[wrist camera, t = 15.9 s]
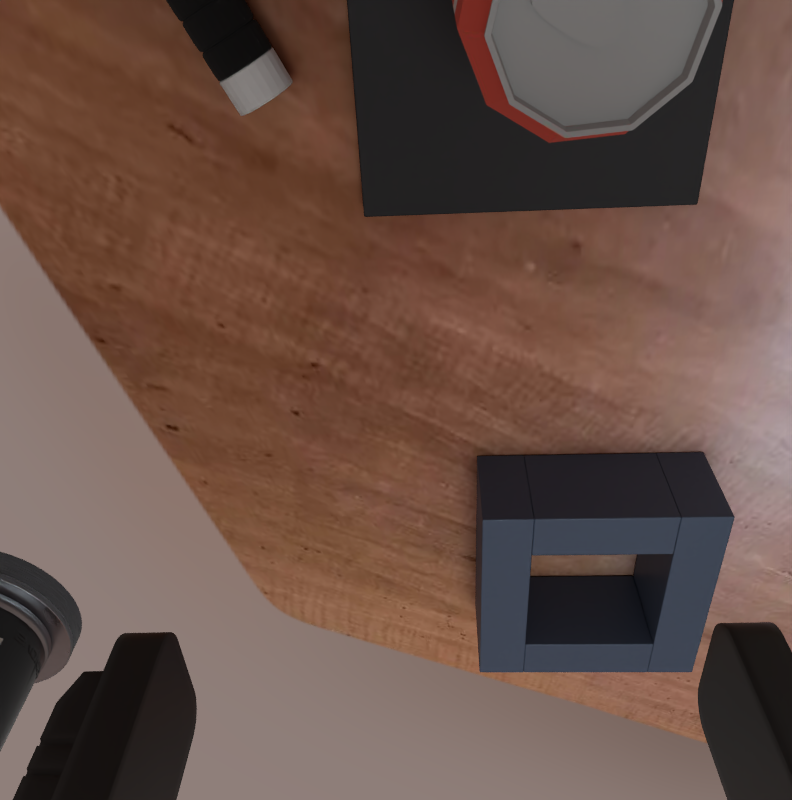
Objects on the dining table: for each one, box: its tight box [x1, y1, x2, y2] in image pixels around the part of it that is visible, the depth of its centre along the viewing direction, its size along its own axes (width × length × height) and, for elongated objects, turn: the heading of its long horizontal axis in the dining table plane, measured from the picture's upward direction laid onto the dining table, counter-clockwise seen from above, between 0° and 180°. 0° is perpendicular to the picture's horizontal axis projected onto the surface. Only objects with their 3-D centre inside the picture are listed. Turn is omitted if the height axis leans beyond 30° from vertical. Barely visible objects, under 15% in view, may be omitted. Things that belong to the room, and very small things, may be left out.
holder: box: [475, 452, 734, 672], centre depth 42 cm, size 12×12×5 cm
